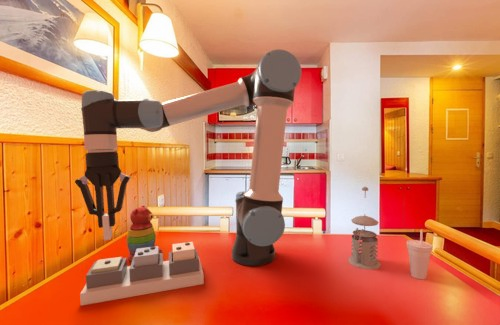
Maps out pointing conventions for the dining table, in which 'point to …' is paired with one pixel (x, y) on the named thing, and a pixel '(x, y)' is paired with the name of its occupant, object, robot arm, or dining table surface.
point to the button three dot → (146, 256)
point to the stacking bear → (140, 231)
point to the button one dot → (107, 264)
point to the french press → (364, 243)
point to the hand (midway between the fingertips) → (108, 238)
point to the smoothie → (419, 256)
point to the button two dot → (183, 251)
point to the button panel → (141, 279)
